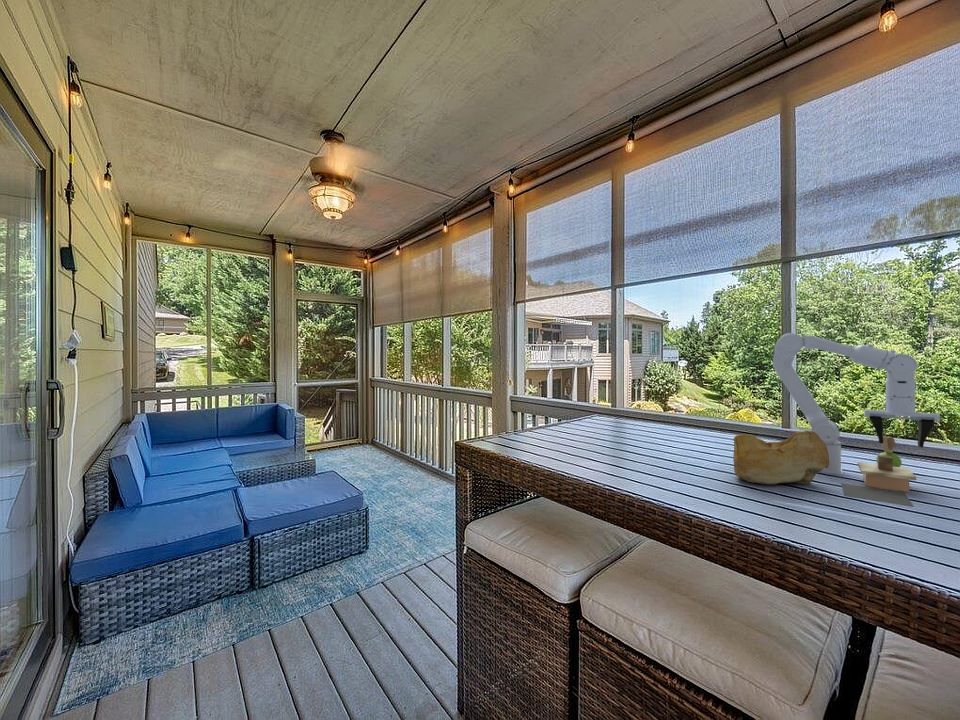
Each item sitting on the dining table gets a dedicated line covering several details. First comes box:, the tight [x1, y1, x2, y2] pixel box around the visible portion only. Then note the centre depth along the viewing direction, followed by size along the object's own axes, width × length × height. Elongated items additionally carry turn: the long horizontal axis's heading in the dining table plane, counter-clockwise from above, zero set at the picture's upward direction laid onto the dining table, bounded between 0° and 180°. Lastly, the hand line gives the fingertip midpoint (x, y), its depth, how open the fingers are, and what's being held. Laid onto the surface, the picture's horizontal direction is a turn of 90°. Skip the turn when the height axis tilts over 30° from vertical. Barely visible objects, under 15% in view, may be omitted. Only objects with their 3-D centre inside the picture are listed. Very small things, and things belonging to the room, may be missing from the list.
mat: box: [840, 483, 915, 508], centre depth 100 cm, size 12×12×1 cm
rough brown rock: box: [732, 430, 829, 485], centre depth 115 cm, size 23×16×15 cm
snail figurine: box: [876, 432, 903, 467], centre depth 122 cm, size 5×6×12 cm
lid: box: [857, 454, 917, 481], centre depth 106 cm, size 10×10×4 cm
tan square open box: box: [862, 473, 910, 493], centre depth 107 cm, size 8×8×4 cm
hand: (900, 444), depth 111 cm, fingers open, 7 cm apart
